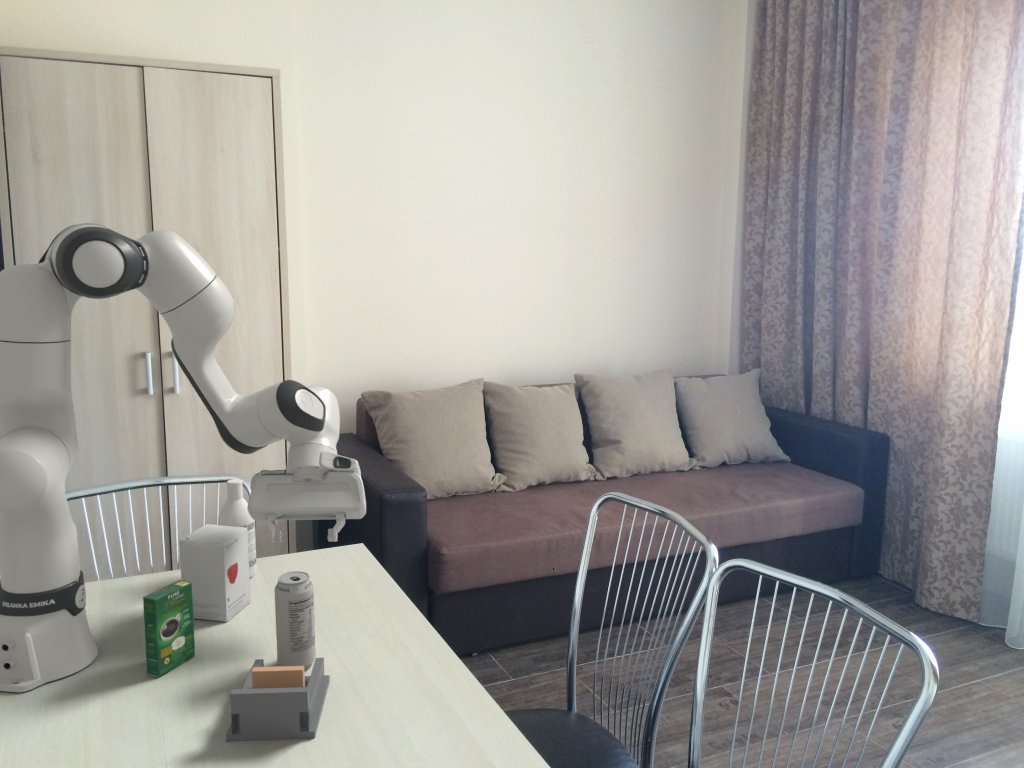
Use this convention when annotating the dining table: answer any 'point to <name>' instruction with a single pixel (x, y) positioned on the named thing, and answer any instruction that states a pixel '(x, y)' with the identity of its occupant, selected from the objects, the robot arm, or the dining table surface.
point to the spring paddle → (278, 677)
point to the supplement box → (216, 570)
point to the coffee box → (169, 627)
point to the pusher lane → (278, 708)
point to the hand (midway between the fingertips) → (304, 540)
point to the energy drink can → (295, 620)
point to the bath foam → (239, 518)
